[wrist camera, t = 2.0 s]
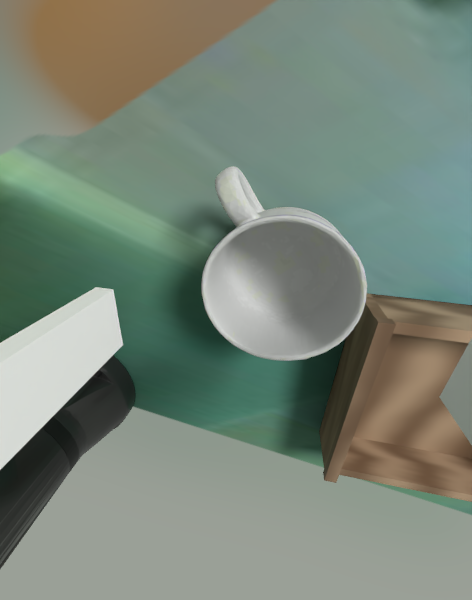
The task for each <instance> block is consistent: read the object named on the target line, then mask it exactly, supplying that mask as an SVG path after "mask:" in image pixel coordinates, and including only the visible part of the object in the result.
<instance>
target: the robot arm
mask: <svg viewBox="0 0 472 600" xmlns="http://www.w3.org/2000/svg"><path fill="white" fill-rule="evenodd" d="M122 345H123V342H122V337H121V331H120V325H119V319H118V314H117V308H116V302H115V297H114V291H113V289H105V288H98V287H96V288H94V289H92V290H91V291H89V292H87V293H85V294H84V295H82V296H80V297H79V298H77V299H75V300H73V301H72V302H70V303H68V304H67V305H65V306H63V307H61V308H60V309H58V310H56V311H54V312H53V313H51V314H49V315H48V316H46V317H44V318H42V319H41V320H39V321H37V322H35V323H34V324H32V325H30V326H29V327H27V328H25V329H23V330H22V331H20V332H18V333H17V334H15V335H13V336H11V337H10V338H8V339H6V340H4V341H3V342H1V343H0V568H1V567H2V566H3V565H4V563H5V562H6V560H7V559H8V558H9V556H10V555H11V553H12V552H13V551H14V549H15V548H16V546H17V545H18V544H19V542H20V541H21V539H22V538H23V537H24V535H25V534H26V532H27V531H28V530H29V528H30V527H31V525H32V524H33V523H34V521H35V520H36V518H37V517H38V516H39V514H40V513H41V511H42V510H43V509H44V507H45V506H46V504H47V503H48V502H49V500H50V499H51V497H52V496H53V494H54V493H55V492H56V490H57V489H58V488H59V486H60V485H61V483H62V482H63V480H64V479H65V478H66V476H67V475H68V473H69V472H70V471H71V469H72V468H73V467H74V465H75V464H76V462H77V461H78V460H79V459H80V457H81V456H82V455H83V454H84V453H86V452H87V451H88V450H89V449H90V448H92V447H93V446H94V445H95V444H96V443H98V442H99V441H100V440H101V439H102V438H104V437H105V436H106V435H107V434H108V433H109V432H110V431H112V430H113V429H115V428H116V427H118V426H119V425H120V423H122V422H123V420H124V419H125V418H126V416H127V415H128V413H129V412H130V410H131V409H132V407H133V405H134V402H135V388H134V385H133V382H132V379H131V377H130V375H129V374H128V372H127V370H126V369H125V368H124V366H123V365H122V364H121V363H120V362H119V361H118V360H117V359H116V358H115V357H114V356H113V355H114V354H115V353H116V352H117V351H118V349H119V348H120V347H121V346H122ZM440 399H441V400H442V402H443V403H444V405H445V406H446V408H447V409H448V411H449V412H450V414H451V415H452V417H453V418H454V420H455V421H456V423H457V424H458V426H459V427H460V429H461V430H462V432H463V433H464V435H465V436H466V438H467V439H468V441H469V442H470V444H471V445H472V339H471V340H470V342H469V344H468V346H467V348H466V349H465V351H464V353H463V355H462V357H461V359H460V360H459V362H458V364H457V366H456V368H455V369H454V371H453V373H452V375H451V377H450V379H449V380H448V382H447V384H446V386H445V388H444V389H443V391H442V393H441V395H440Z"/></svg>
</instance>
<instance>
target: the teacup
mask: <svg viewBox="0 0 472 600" xmlns="http://www.w3.org/2000/svg"><path fill="white" fill-rule="evenodd" d="M215 188H216V191H217V194H218V197H219V200H220V202H221V204H222V206H223V208H224V210H225V211H226V213H227V215H228V216H229V218H230V219H231V220H232V222H233V223H234V224H235V225H236V228H235V229H234V230H232V231H231V232H230V233H229V234H227V235H226V236H225V237H224V238H223V239H222V240H221V241H220V242H219V243H218V244H217V245H216V246H215V248H214V249H213V251H212V252H211V254H210V256H209V257H208V259H207V261H206V264H205V267H204V270H203V275H202V283H201V290H202V297H203V302H204V306H205V310H206V312H207V314H208V316H209V318H210V320H211V322H212V323H213V325H214V326H215V328H216V329H217V330H218V331H219V332H220V334H221V335H222V336H223V337H224V338H226V339H227V340H228V341H229V342H230V343H232V344H233V345H234V346H236V347H238V348H239V349H241V350H243V351H245V352H247V353H249V354H252V355H255V356H257V357H261V358H266V359H271V360H283V361H291V360H303V359H308V358H310V357H313V356H317V355H319V354H322V353H324V352H327V351H328V350H330V349H331V348H333V347H335V346H337V345H338V344H339V343H341V342H342V341H343V340H344V339H345V338H346V337H347V336H348V335H349V334H350V333H351V331H352V330H353V329H354V327H355V326H356V324H357V323H358V321H359V319H360V317H361V315H362V313H363V310H364V306H365V303H366V295H367V282H366V275H365V271H364V267H363V265H362V263H361V261H360V258H359V257H358V255H357V253H356V252H355V250H354V249H353V247H352V246H351V245H350V244H349V243H348V242H347V240H346V239H345V238H344V237H343V236H342V235H341V234H340V232H339V231H338V230H337V229H336V228H335V227H334V226H333V225H332V224H331V223H330V222H328V221H327V220H326V219H324V218H323V217H321V216H319V215H318V214H315V213H313V212H311V211H308V210H304V209H301V208H294V207H279V208H273V209H269V210H264V209H263V207H262V206H261V204H260V203H259V201H258V199H257V197H256V196H255V194H254V192H253V190H252V188H251V186H250V185H249V183H248V181H247V179H246V178H245V176H244V174H243V173H242V172H241V171H240V169H238V168H237V167H233V166H232V167H228V168H226V169H224V170H223V171H222V172H221V173H219V174H218V176H217V177H216V180H215Z"/></svg>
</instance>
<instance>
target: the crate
mask: <svg viewBox="0 0 472 600" xmlns="http://www.w3.org/2000/svg"><path fill="white" fill-rule="evenodd" d="M471 339H472V305H464V304H455V303H446V302H437V301H428V300H420V299H411V298H402V297H393V296H384V295H375V294H367V295H366V303H365V306H364V310H363V313H362V315H361V317H360V319H359V321H358V323H357V324H356V326H355V327H354V329H353V330H352V331H351V333H350V334H349V335H348V336H347V337H346V340H345V344H344V347H343V351H342V354H341V358H340V361H339V365H338V368H337V371H336V375H335V378H334V382H333V385H332V389H331V392H330V396H329V399H328V403H327V406H326V410H325V413H324V417H323V420H322V424H321V427H320V431H319V432H320V439H321V447H322V455H323V463H324V472H323V473H324V480H326V481H330V482H335V483H336V481H337V479H338V476H339V475H344V476H349V477H354V478H358V479H363V480H368V481H373V482H378V483H383V484H388V485H393V486H397V487H402V488H407V489H412V490H417V491H422V492H427V493H432V494H436V495H441V496H446V497H451V498H456V499H461V500H466V501H471V502H472V445H471V444H470V442H469V441H468V439H467V438H466V436H465V435H464V433H463V432H462V430H461V429H460V427H459V426H458V424H457V423H456V421H455V420H454V418H453V417H452V415H451V414H450V412H449V411H448V409H447V408H446V406H445V405H444V403H443V402H442V400H441V399H440V395H441V393H442V391H443V389H444V388H445V386H446V384H447V382H448V380H449V379H450V377H451V375H452V373H453V371H454V369H455V368H456V366H457V364H458V362H459V360H460V359H461V357H462V355H463V353H464V351H465V349H466V348H467V346H468V344H469V342H470V340H471Z"/></svg>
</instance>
